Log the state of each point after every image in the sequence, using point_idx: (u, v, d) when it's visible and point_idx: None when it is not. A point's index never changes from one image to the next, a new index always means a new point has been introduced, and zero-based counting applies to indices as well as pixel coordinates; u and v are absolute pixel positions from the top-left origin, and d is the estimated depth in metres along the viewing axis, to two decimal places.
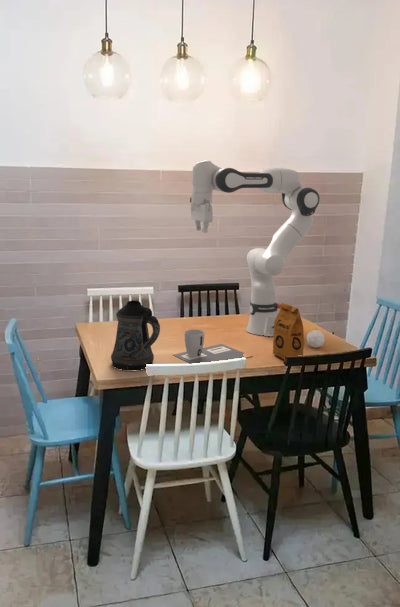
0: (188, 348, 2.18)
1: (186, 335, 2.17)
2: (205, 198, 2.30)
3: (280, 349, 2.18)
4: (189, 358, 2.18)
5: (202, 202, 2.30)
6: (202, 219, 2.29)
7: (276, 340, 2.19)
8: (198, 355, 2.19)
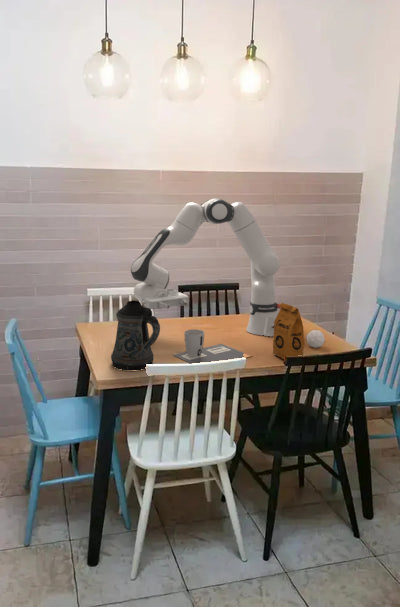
0: (188, 348, 2.18)
1: (186, 335, 2.17)
2: None
3: (280, 349, 2.18)
4: (189, 358, 2.18)
5: None
6: None
7: (276, 340, 2.19)
8: (198, 355, 2.19)
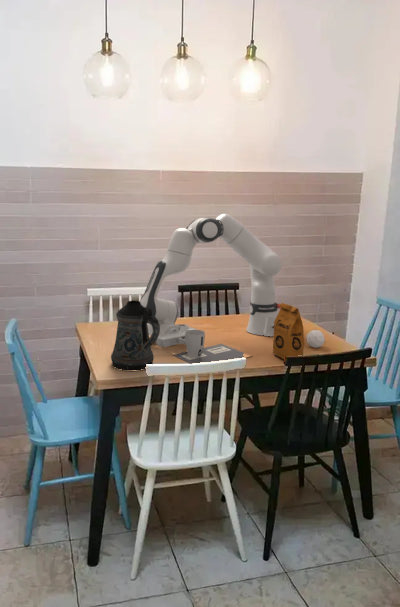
0: (189, 348, 2.17)
1: (187, 335, 2.16)
2: None
3: (280, 349, 2.18)
4: (189, 358, 2.18)
5: None
6: None
7: (276, 340, 2.19)
8: (199, 355, 2.19)
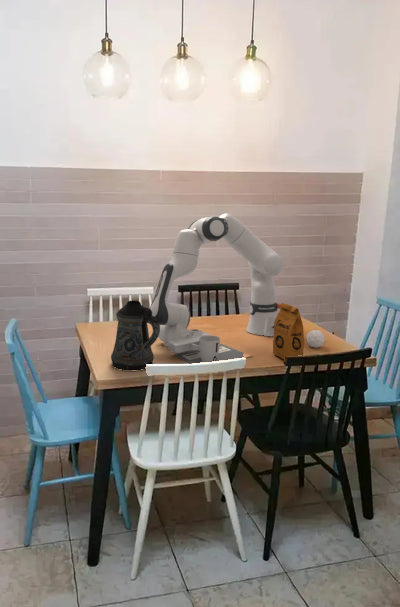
0: (203, 355, 2.10)
1: (201, 341, 2.09)
2: None
3: (280, 349, 2.18)
4: (189, 358, 2.18)
5: None
6: None
7: (276, 340, 2.19)
8: None
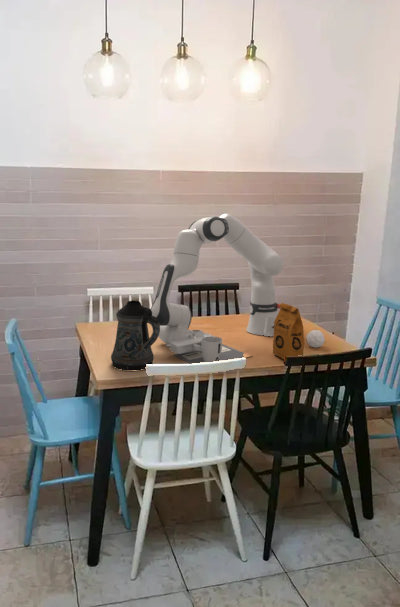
0: (205, 356, 2.09)
1: (203, 342, 2.08)
2: None
3: (280, 349, 2.18)
4: (189, 358, 2.18)
5: None
6: None
7: (276, 340, 2.19)
8: None
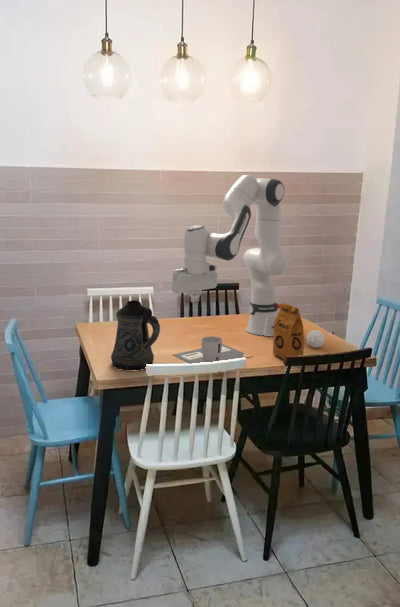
0: (205, 356, 2.09)
1: (203, 342, 2.08)
2: (186, 267, 2.10)
3: (280, 349, 2.18)
4: (189, 358, 2.18)
5: None
6: None
7: (276, 340, 2.19)
8: None
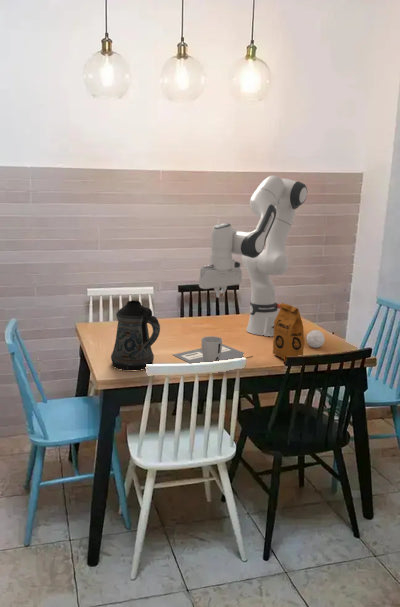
0: (205, 356, 2.09)
1: (203, 342, 2.08)
2: (213, 263, 2.17)
3: (280, 349, 2.18)
4: (189, 358, 2.18)
5: None
6: None
7: (276, 340, 2.19)
8: None
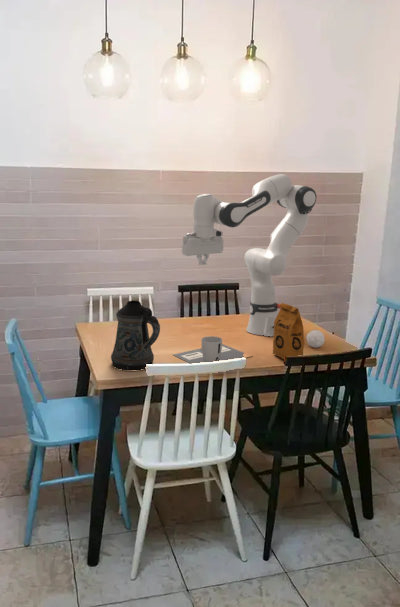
0: (205, 356, 2.09)
1: (203, 342, 2.08)
2: (195, 231, 2.29)
3: (280, 349, 2.18)
4: (189, 358, 2.18)
5: None
6: None
7: (276, 340, 2.19)
8: None
